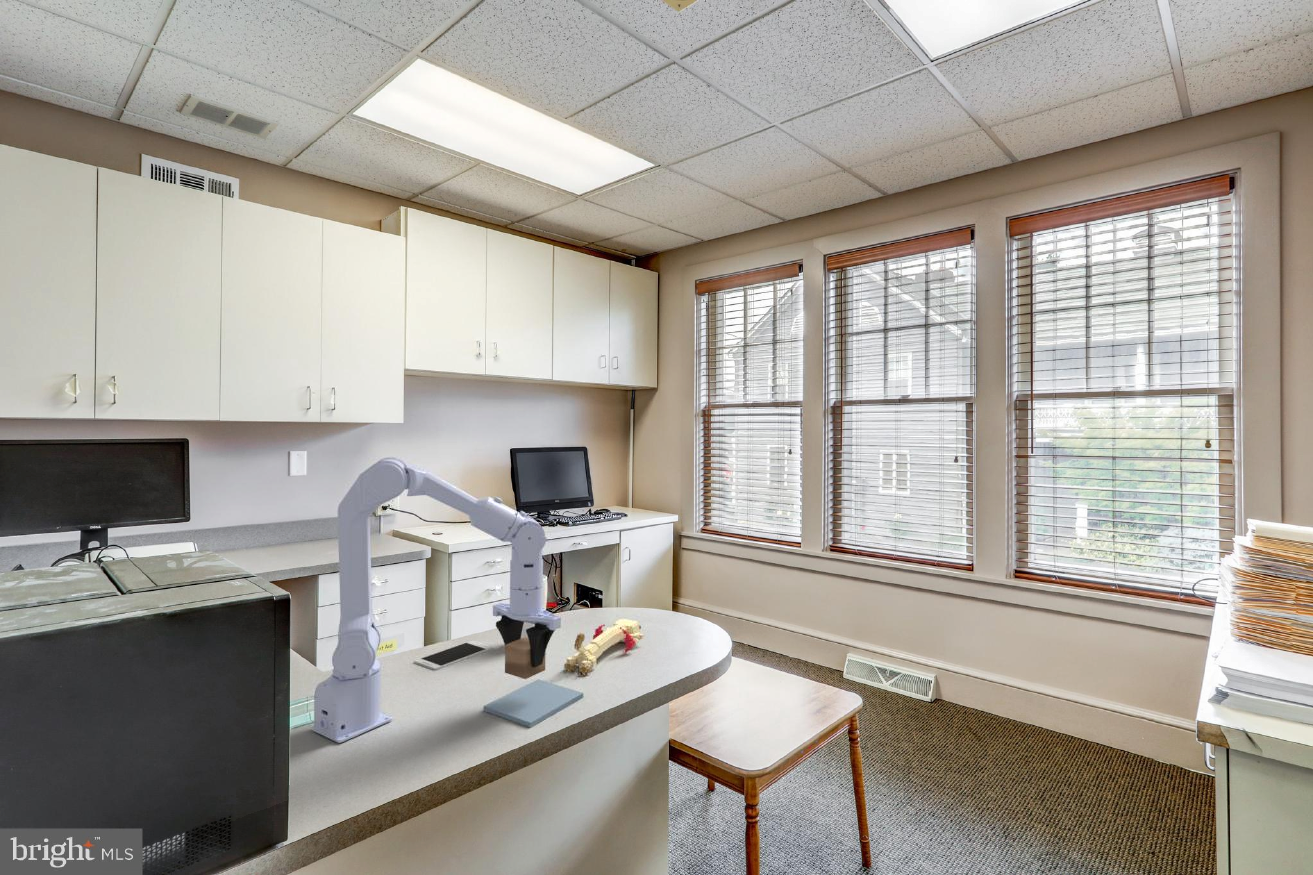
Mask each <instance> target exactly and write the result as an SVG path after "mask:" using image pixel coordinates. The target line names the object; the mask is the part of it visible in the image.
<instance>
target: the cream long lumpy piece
mask: <svg viewBox="0 0 1313 875" xmlns="http://www.w3.org/2000/svg"><path fill="white" fill-rule="evenodd" d="M605 626H606V624H605V623H604V624H601V625H598V628H595V629H594V633H595V634H593V636H592V640H591V641H590V642H589V643H588V644H587V645H586V646H584V645H583V642H584V641H585V639H586V638H585V633H581V632H580V633H578V634H577V636H576V638H575V641H574V642H575V643H574V649H575V650H576V653H574V654H573V655H572V656H571V657H570V656H569V657H566V662H565V663H563V664H564V667H563V668H564V669H565V670H566V671H567V672H571V673H572V672H573V671H574V670H575V669H576V666H577V665H578V666H579V669H578V671H579V673H581V674H582V675H584V676H587V675H589V674H590V673H591V672H592V671H591V669H593V668H595V667H596V666H597V659H598V658H599V657H600V656H602V654H603V653H604V652H605V651H607V650H608V649H609V648H610V647H612V646H614V645H616V644H618V643H619V642H623V643H625V647H624V651H622V653H627V652H630V651H631V649H632V648H633V647H634V646H635V644H637V643H638V642H639V641H641V640H644V634H643V633H641V632H640V630H641V628H642V626H641V624H640V623H639V622H638V621H637V620H632V619H627V618H626V619H625V618H619V620H617V621H615V622H614V623H613V626H612V627H606V629H605V631H604V630H603V627H605Z"/></svg>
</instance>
